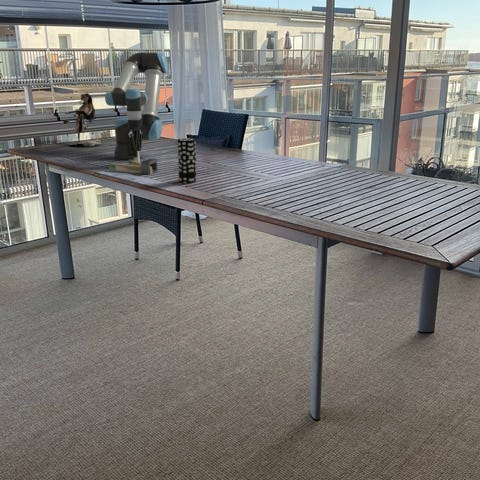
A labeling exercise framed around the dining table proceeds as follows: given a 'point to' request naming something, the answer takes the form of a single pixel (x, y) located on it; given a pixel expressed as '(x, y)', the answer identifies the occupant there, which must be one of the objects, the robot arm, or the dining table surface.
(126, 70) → the robot arm
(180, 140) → the white-spotted black cylinder
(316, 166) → the dining table surface
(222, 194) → the dining table surface
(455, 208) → the dining table surface
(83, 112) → the figurine
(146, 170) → the collar
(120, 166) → the bar
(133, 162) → the tongs jaw
